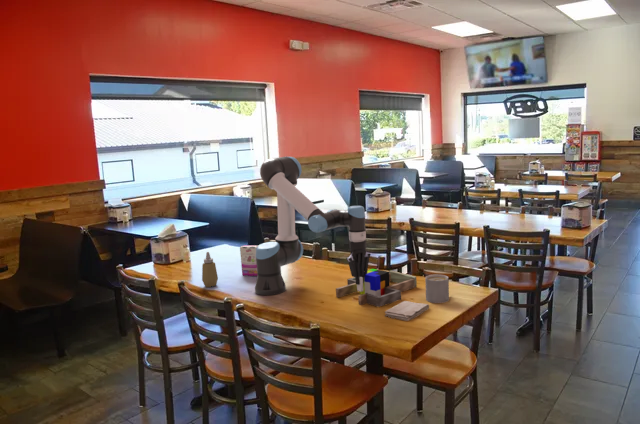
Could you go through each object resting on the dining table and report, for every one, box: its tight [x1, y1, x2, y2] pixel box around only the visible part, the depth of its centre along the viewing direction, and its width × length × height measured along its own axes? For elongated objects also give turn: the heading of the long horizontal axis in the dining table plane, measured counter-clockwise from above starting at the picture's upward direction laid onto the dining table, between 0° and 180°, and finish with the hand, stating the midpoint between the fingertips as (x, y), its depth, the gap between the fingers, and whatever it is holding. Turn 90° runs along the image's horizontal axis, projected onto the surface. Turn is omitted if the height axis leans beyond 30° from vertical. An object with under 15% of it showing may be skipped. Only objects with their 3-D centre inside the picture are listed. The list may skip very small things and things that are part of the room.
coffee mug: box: [424, 273, 450, 304], centre depth 234 cm, size 13×10×10 cm
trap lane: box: [335, 270, 418, 308], centre depth 249 cm, size 36×32×5 cm
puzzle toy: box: [358, 268, 391, 297], centre depth 246 cm, size 10×10×10 cm
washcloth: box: [384, 300, 430, 322], centre depth 220 cm, size 12×18×3 cm, turn 142°
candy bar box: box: [239, 244, 258, 277], centre depth 290 cm, size 11×5×16 cm, turn 68°
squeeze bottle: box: [201, 251, 219, 288], centre depth 273 cm, size 8×8×18 cm
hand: (360, 290), depth 242 cm, fingers closed
